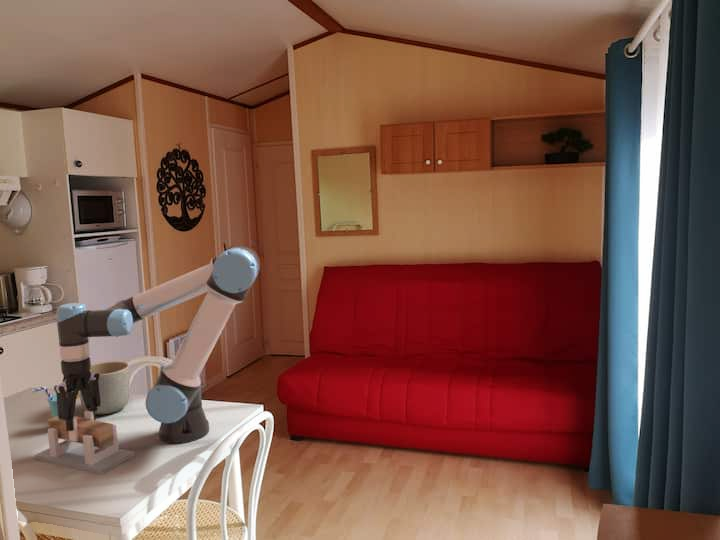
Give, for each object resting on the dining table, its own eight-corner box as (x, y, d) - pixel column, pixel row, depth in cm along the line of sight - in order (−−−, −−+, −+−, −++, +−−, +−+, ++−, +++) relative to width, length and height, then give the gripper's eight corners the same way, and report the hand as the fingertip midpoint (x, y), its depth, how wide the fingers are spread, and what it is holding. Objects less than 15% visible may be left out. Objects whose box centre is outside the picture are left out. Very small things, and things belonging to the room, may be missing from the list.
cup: (36, 437, 184) (31, 391, 182) (36, 429, 191) (31, 385, 189) (85, 427, 191) (81, 383, 189) (83, 420, 198) (79, 377, 196)
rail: (113, 440, 166) (112, 423, 166) (99, 447, 162) (98, 430, 161) (64, 429, 174) (63, 413, 174) (49, 436, 170) (48, 419, 169)
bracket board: (134, 455, 169) (131, 425, 168) (100, 474, 158) (97, 441, 157) (70, 442, 179) (67, 414, 178) (35, 459, 169) (31, 428, 167)
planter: (79, 407, 210) (75, 366, 208) (129, 398, 218) (125, 358, 216) (81, 422, 196) (77, 378, 194) (135, 412, 203) (131, 370, 201)
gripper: (92, 349, 175) (98, 423, 178) (37, 365, 158) (45, 447, 161) (110, 351, 172) (116, 426, 175) (56, 368, 155) (64, 451, 158)
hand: (82, 436), depth 168 cm, fingers closed on rail, 5 cm apart
